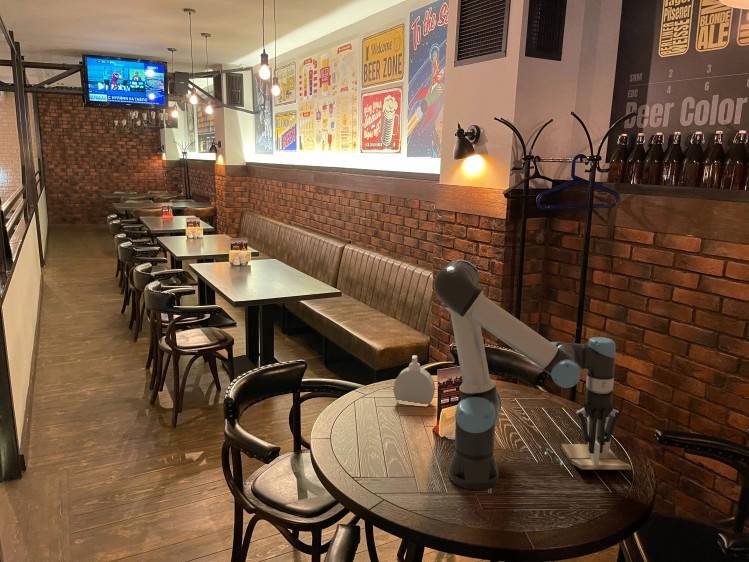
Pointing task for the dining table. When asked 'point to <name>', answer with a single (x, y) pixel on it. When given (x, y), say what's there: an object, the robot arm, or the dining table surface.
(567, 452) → the tan flat board
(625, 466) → the plank
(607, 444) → the cup
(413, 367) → the soap bottle
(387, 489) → the dining table surface
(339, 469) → the dining table surface
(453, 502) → the dining table surface
